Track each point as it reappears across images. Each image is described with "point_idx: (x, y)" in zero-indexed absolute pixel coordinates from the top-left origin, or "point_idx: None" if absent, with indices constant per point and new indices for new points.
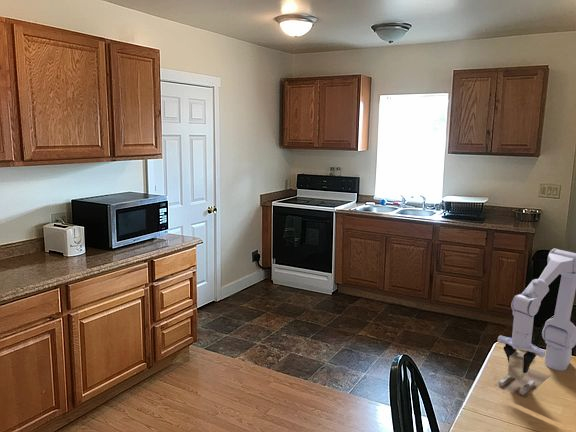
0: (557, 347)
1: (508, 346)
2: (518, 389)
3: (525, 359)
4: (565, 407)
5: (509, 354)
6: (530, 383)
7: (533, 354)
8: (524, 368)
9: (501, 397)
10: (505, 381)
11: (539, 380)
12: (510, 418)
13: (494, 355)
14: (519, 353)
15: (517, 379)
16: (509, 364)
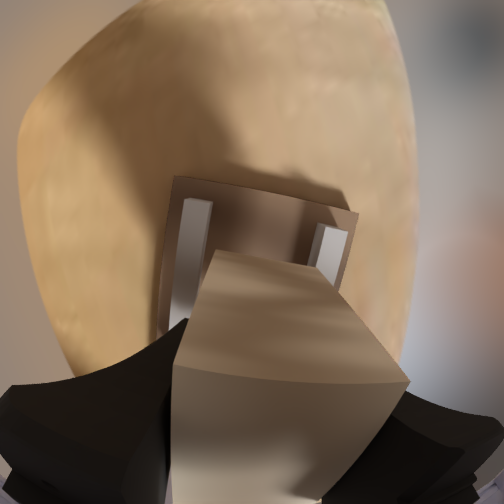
0: None
1: (443, 499)
2: (229, 250)
3: (126, 406)
4: (42, 251)
5: (405, 415)
6: (176, 323)
7: (13, 483)
8: (180, 336)
9: (295, 137)
10: (313, 264)
11: None
12: (212, 2)
13: None
14: (277, 493)
15: None
16: (347, 312)
